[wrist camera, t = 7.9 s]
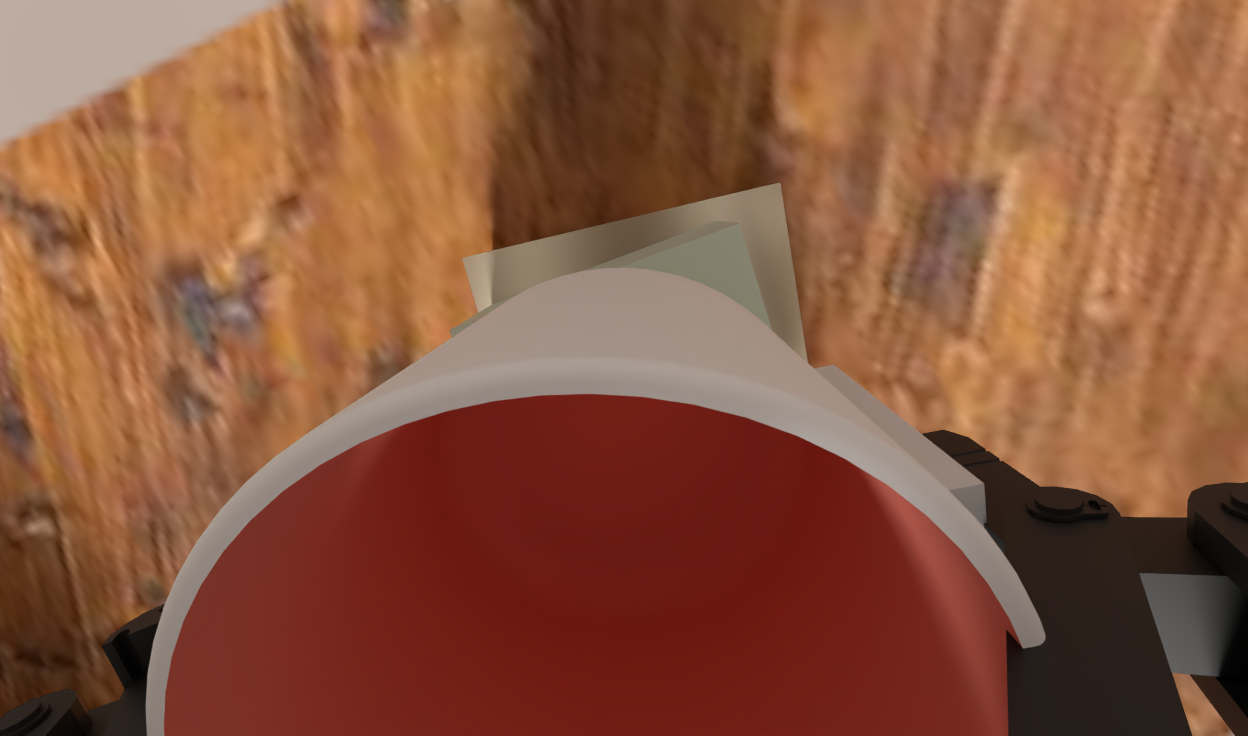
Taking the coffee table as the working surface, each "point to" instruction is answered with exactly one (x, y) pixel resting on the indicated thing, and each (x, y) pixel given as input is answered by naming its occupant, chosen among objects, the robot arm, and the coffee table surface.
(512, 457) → the cup
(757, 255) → the tower base
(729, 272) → the tower top
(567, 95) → the coffee table surface
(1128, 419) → the coffee table surface
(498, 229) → the coffee table surface
